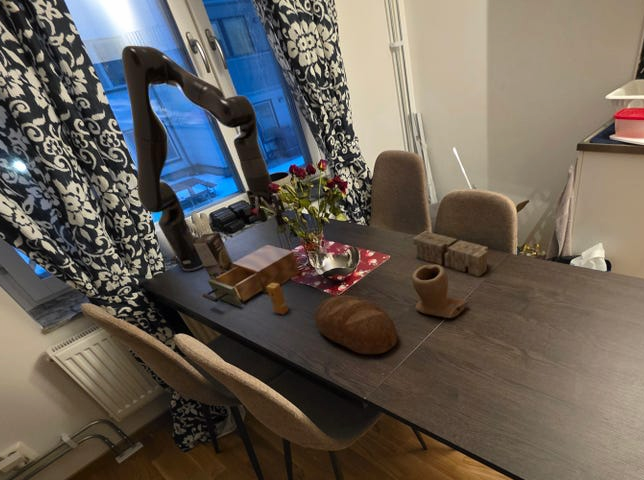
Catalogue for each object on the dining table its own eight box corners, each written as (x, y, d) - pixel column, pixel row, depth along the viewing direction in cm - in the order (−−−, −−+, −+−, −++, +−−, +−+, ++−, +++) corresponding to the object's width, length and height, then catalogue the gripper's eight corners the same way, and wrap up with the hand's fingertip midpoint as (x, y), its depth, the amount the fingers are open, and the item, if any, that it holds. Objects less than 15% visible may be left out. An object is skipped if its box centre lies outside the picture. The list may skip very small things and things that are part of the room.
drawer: (226, 314, 129) (217, 297, 124) (203, 304, 135) (193, 287, 131) (273, 285, 141) (266, 268, 136) (250, 277, 147) (243, 261, 143)
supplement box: (289, 309, 129) (280, 283, 123) (283, 315, 127) (272, 288, 121) (282, 307, 131) (272, 281, 124) (275, 313, 128) (264, 287, 122)
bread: (373, 367, 104) (365, 334, 96) (305, 331, 119) (294, 300, 112) (410, 337, 112) (406, 304, 105) (342, 307, 127) (334, 276, 120)
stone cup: (408, 316, 120) (402, 273, 110) (426, 297, 127) (423, 255, 117) (452, 328, 114) (450, 283, 104) (469, 307, 121) (468, 263, 111)
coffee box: (228, 282, 148) (209, 242, 137) (212, 283, 148) (192, 244, 138) (236, 270, 155) (219, 231, 144) (221, 271, 155) (203, 233, 145)
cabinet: (266, 293, 139) (258, 271, 133) (241, 284, 146) (232, 263, 140) (300, 272, 148) (293, 251, 143) (274, 265, 155) (267, 244, 150)
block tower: (490, 270, 138) (427, 249, 153) (491, 248, 133) (426, 228, 148) (477, 279, 134) (414, 257, 149) (479, 257, 129) (412, 236, 143)
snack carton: (309, 266, 152) (299, 235, 143) (315, 263, 153) (306, 231, 145) (319, 269, 149) (310, 237, 140) (325, 265, 151) (316, 233, 142)
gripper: (280, 171, 121) (295, 222, 131) (251, 167, 127) (267, 216, 138) (261, 178, 116) (278, 231, 127) (232, 174, 122) (250, 224, 133)
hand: (272, 223), depth 132 cm, fingers open, 8 cm apart
